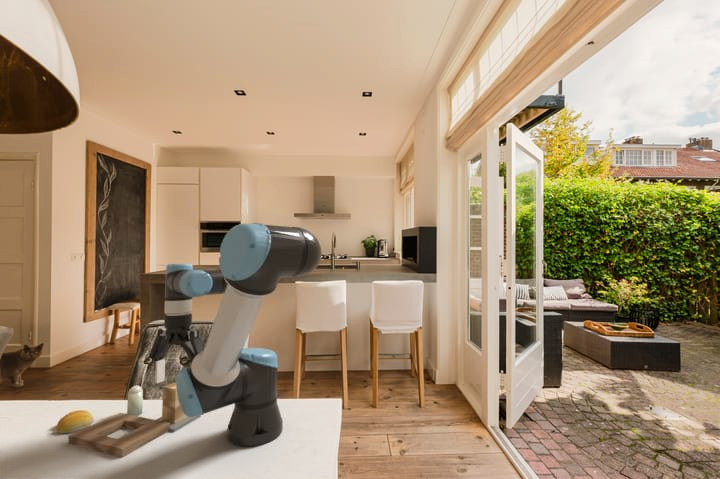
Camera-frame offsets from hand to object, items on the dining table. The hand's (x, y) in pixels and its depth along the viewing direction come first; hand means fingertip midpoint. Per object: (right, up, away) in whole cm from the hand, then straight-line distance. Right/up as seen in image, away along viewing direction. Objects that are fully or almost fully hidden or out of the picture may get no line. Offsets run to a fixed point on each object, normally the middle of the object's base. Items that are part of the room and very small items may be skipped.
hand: (176, 384), depth 103 cm
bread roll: (-28, -11, -3) cm, 31 cm away
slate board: (0, -11, 0) cm, 11 cm away
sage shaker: (-16, -11, +4) cm, 20 cm away
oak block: (0, -10, 0) cm, 10 cm away
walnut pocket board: (-11, -11, -9) cm, 18 cm away
